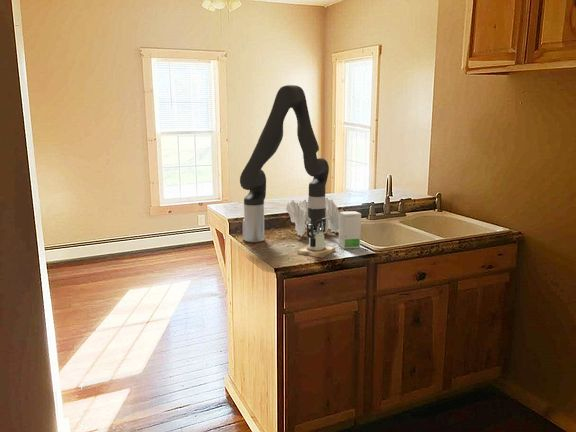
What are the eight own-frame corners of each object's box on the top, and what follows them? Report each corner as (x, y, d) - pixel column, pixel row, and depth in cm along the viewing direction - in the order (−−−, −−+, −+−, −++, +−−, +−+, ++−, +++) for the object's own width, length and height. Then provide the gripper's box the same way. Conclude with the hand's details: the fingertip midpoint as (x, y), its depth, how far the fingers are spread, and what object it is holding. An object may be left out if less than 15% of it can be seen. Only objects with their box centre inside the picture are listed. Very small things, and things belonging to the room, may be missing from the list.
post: (297, 253, 214) (297, 239, 213) (309, 246, 224) (310, 233, 223) (322, 257, 208) (323, 243, 207) (334, 250, 218) (335, 236, 217)
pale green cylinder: (307, 246, 218) (308, 229, 217) (321, 246, 219) (321, 229, 218) (311, 250, 212) (311, 233, 211) (325, 249, 214) (325, 232, 212)
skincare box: (343, 249, 220) (344, 214, 217) (337, 245, 227) (338, 211, 223) (360, 247, 223) (361, 213, 219) (354, 244, 229) (355, 210, 226)
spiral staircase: (340, 241, 249) (294, 244, 238) (326, 220, 261) (282, 222, 251) (351, 211, 238) (303, 213, 228) (335, 190, 251) (290, 191, 241)
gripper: (316, 202, 220) (315, 240, 223) (300, 208, 208) (300, 247, 211) (332, 204, 216) (331, 242, 220) (317, 210, 204) (316, 250, 208)
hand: (316, 244), depth 216 cm, fingers closed on pale green cylinder, 6 cm apart
